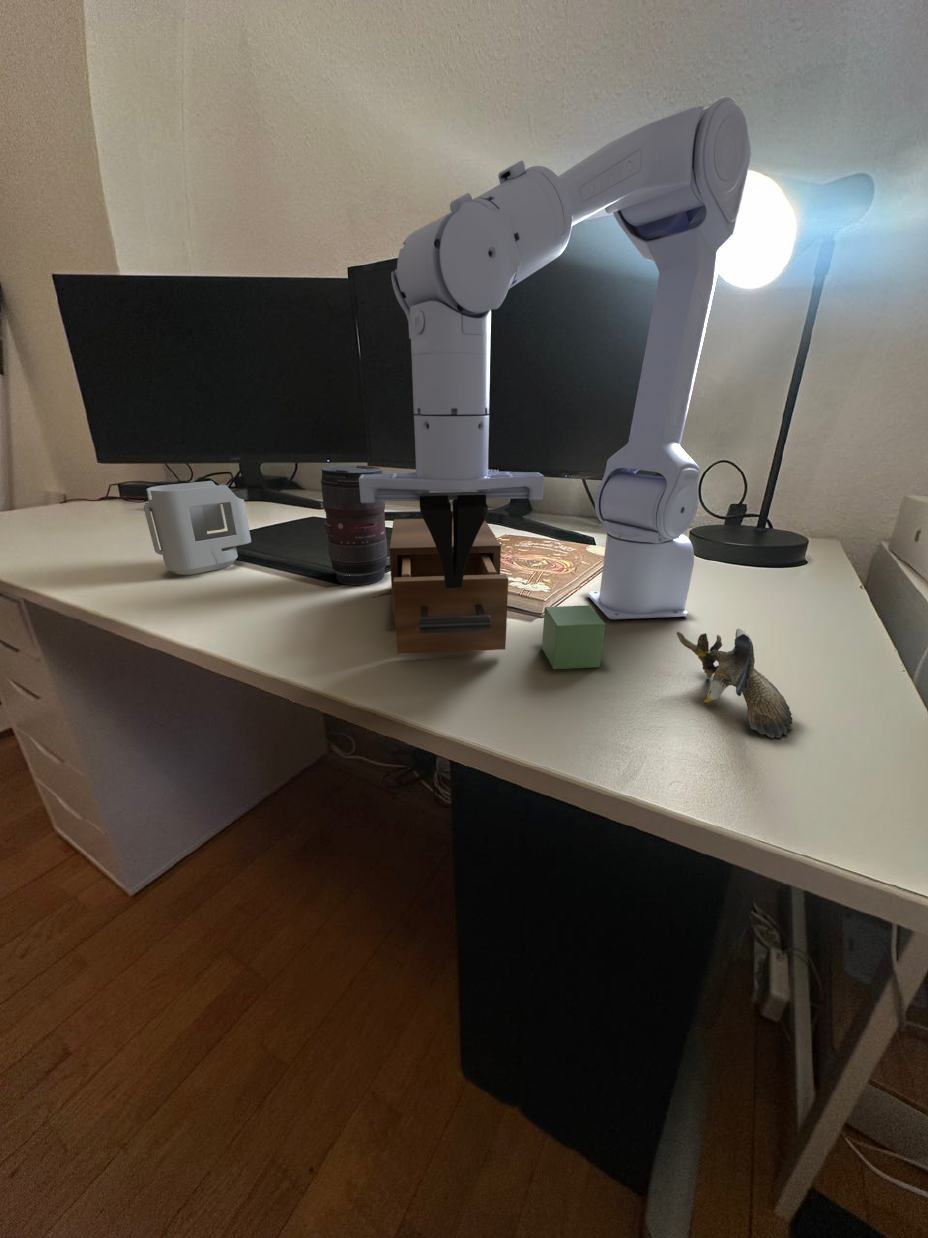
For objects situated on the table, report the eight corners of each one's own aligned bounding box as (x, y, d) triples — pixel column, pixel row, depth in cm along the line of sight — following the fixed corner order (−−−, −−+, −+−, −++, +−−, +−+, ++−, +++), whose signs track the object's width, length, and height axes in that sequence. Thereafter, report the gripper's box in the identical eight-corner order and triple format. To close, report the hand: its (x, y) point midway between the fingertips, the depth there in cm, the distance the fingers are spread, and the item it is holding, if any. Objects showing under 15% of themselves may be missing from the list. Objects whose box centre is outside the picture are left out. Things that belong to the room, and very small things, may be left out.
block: (584, 645, 50) (589, 605, 48) (600, 667, 46) (605, 623, 44) (541, 647, 50) (544, 606, 48) (553, 669, 46) (557, 625, 44)
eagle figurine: (650, 671, 43) (722, 712, 35) (695, 601, 42) (780, 625, 34) (711, 707, 45) (793, 754, 37) (754, 640, 45) (848, 673, 36)
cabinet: (498, 624, 55) (501, 545, 51) (394, 628, 54) (389, 548, 50) (482, 583, 67) (483, 517, 64) (397, 586, 66) (393, 519, 63)
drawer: (514, 672, 44) (517, 595, 41) (395, 677, 43) (391, 599, 40) (487, 601, 59) (488, 542, 56) (400, 604, 58) (396, 544, 55)
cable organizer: (257, 563, 75) (243, 483, 71) (168, 582, 67) (145, 493, 63) (240, 554, 80) (225, 478, 75) (154, 571, 72) (132, 487, 67)
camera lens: (371, 590, 65) (362, 473, 59) (319, 583, 67) (305, 469, 61) (400, 572, 72) (394, 465, 66) (352, 566, 74) (342, 462, 68)
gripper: (533, 413, 42) (525, 567, 47) (359, 414, 40) (372, 571, 46) (555, 415, 35) (543, 593, 41) (350, 416, 34) (366, 599, 39)
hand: (453, 583), depth 43 cm, fingers closed
